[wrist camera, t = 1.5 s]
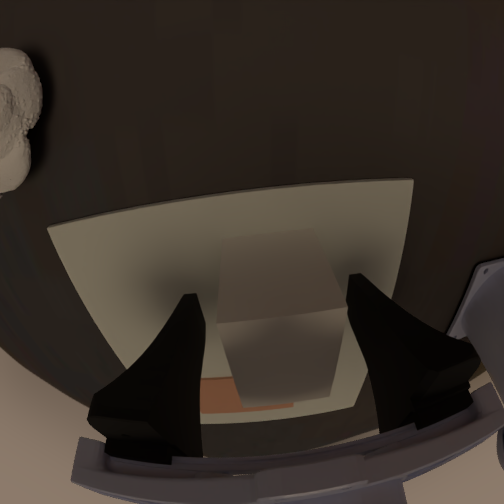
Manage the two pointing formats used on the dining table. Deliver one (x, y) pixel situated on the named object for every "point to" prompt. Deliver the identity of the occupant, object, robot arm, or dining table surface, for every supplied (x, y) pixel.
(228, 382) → the flat orange brown slab
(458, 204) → the dining table surface
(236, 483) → the robot arm
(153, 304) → the mat
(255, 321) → the plain grayish brown block
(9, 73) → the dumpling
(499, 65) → the dining table surface
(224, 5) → the dining table surface
